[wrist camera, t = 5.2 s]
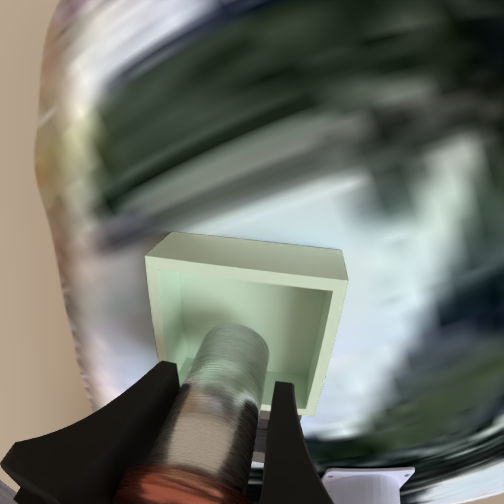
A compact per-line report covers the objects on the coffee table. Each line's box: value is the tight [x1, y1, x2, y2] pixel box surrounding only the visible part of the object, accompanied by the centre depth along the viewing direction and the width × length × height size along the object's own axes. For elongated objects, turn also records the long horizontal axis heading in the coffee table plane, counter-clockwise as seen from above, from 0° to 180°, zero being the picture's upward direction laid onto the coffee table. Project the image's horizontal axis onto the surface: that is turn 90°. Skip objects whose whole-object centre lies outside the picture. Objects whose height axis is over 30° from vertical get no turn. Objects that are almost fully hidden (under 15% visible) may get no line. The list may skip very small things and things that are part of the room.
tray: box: [145, 232, 348, 416], centre depth 15 cm, size 8×8×3 cm
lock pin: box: [112, 324, 269, 504], centre depth 10 cm, size 4×4×9 cm
